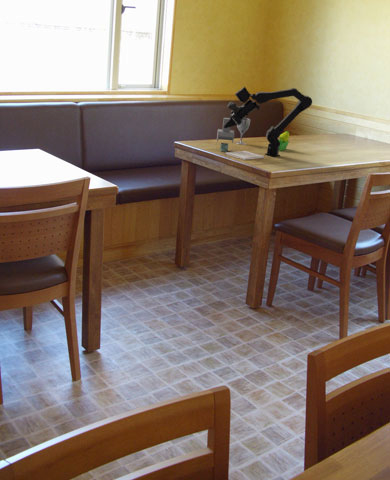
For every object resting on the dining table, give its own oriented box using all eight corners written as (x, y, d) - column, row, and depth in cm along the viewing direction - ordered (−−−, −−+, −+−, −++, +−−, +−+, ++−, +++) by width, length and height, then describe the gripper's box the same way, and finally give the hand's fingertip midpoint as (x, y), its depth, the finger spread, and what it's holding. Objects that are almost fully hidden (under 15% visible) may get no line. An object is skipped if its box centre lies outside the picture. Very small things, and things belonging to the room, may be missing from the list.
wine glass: (235, 141, 375) (238, 117, 370) (248, 143, 374) (251, 118, 369) (233, 143, 368) (236, 118, 363) (246, 145, 367) (249, 120, 362)
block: (227, 150, 346) (228, 143, 344) (227, 151, 342) (228, 144, 340) (220, 149, 345) (221, 142, 344) (220, 151, 342) (221, 144, 340)
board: (245, 152, 344) (245, 150, 344) (263, 157, 335) (264, 156, 335) (225, 154, 334) (225, 152, 333) (244, 159, 324) (244, 158, 324)
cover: (232, 140, 346) (235, 118, 342) (233, 143, 338) (235, 120, 333) (216, 138, 346) (219, 116, 342) (217, 141, 337) (219, 118, 333)
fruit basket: (276, 147, 372) (279, 128, 368) (290, 149, 368) (293, 131, 364) (269, 149, 362) (272, 130, 358) (283, 152, 358) (286, 132, 354)
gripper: (236, 95, 343) (214, 113, 346) (237, 99, 325) (215, 118, 328) (248, 111, 345) (226, 128, 349) (250, 115, 328) (228, 134, 331)
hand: (224, 127), depth 339 cm, fingers closed on cover, 4 cm apart
